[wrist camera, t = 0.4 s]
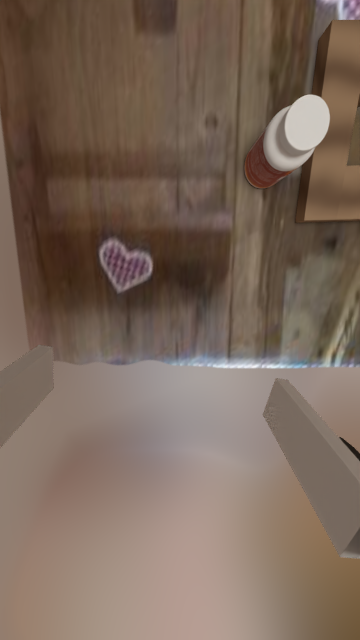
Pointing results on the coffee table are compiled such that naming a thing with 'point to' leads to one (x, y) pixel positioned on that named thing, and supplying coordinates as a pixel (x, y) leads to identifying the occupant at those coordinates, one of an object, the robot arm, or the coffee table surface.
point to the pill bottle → (287, 141)
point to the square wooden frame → (334, 130)
